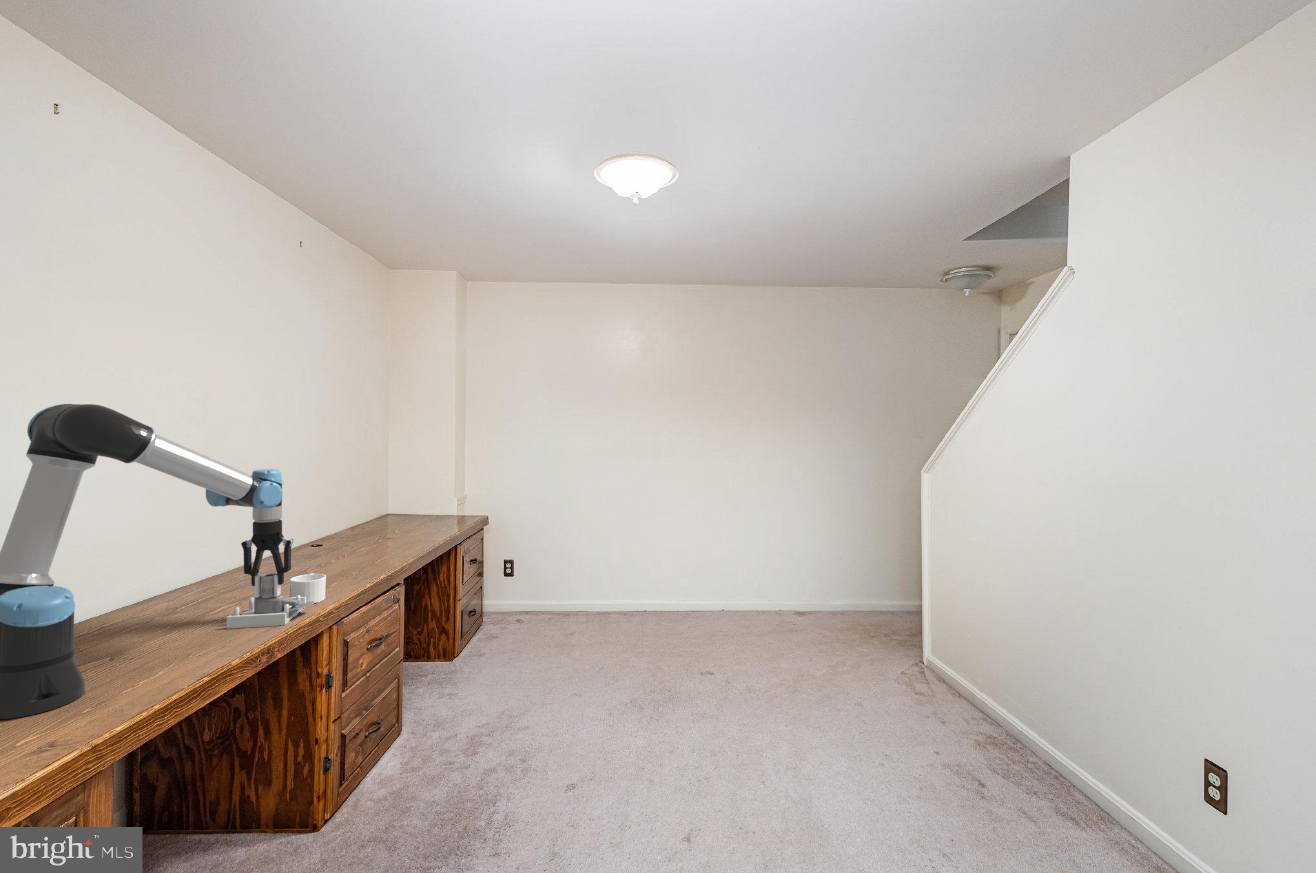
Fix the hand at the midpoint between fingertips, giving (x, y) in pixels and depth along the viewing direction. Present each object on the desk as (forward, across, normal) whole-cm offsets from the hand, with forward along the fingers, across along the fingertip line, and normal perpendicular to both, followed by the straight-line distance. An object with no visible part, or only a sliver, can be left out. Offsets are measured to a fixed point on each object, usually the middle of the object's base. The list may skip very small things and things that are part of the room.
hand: (267, 595), depth 181 cm
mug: (+7, -6, -16) cm, 19 cm away
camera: (+6, -4, 0) cm, 7 cm away
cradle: (+7, 0, 0) cm, 7 cm away
